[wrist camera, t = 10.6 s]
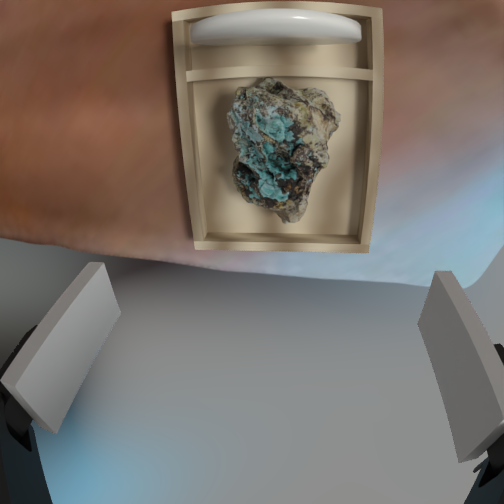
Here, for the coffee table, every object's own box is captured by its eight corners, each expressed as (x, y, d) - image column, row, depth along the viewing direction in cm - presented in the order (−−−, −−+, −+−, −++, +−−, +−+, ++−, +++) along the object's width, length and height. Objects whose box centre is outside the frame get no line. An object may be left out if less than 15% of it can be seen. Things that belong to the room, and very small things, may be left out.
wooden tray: (201, 236, 36) (195, 249, 34) (182, 16, 24) (171, 12, 21) (363, 239, 34) (368, 253, 32) (373, 14, 22) (381, 8, 19)
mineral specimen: (239, 70, 25) (210, 108, 20) (345, 83, 24) (348, 125, 19) (242, 176, 35) (221, 229, 30) (326, 189, 33) (321, 246, 29)
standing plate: (212, 49, 25) (164, 35, 15) (211, 39, 24) (164, 20, 14) (345, 47, 23) (381, 31, 13) (345, 37, 23) (380, 15, 13)
